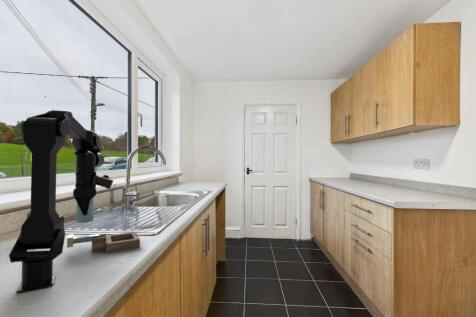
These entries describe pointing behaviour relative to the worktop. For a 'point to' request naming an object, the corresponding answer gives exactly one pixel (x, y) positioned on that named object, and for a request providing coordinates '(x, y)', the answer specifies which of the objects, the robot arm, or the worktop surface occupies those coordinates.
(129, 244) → the dock
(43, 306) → the worktop surface
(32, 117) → the robot arm
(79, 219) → the peg
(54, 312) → the worktop surface
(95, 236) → the lock bolt
